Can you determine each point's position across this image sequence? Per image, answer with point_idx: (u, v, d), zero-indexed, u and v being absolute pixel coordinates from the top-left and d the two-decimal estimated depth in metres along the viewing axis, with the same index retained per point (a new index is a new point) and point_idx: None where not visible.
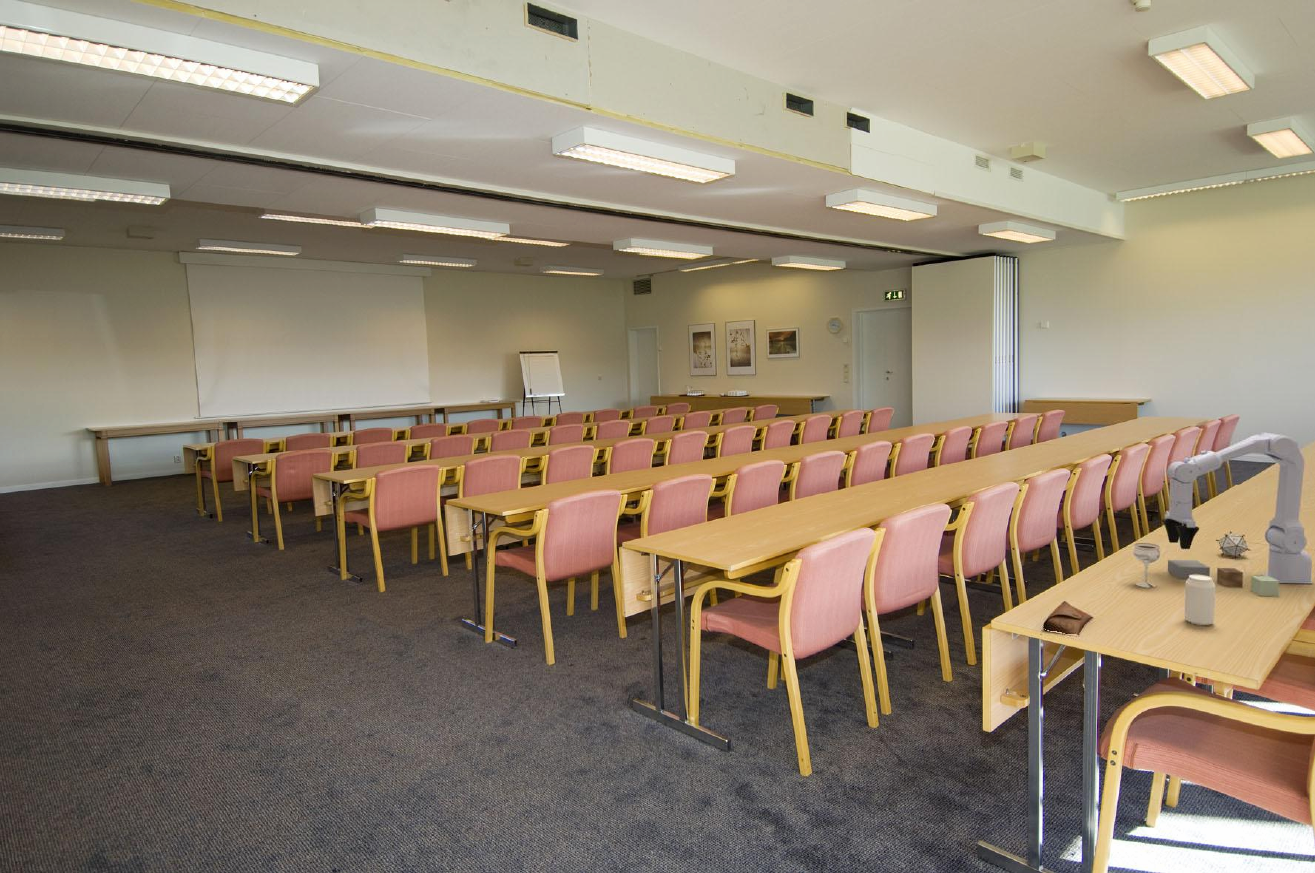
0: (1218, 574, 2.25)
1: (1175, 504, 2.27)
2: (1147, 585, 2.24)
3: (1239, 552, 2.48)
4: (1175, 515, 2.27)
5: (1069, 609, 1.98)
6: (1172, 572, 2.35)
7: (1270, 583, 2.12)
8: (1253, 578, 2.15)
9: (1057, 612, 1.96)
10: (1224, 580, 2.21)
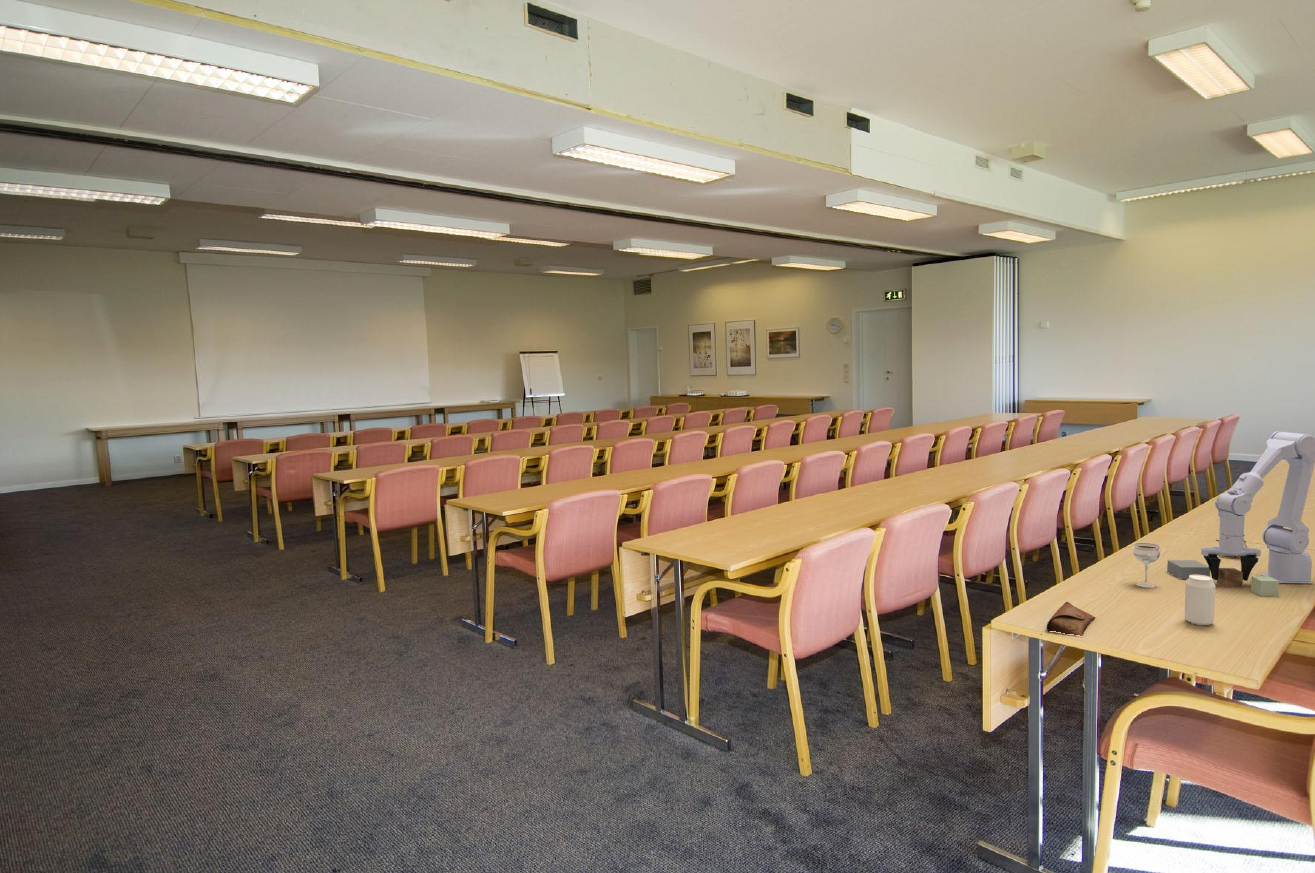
0: None
1: None
2: (1147, 585, 2.24)
3: None
4: None
5: (1072, 610, 1.98)
6: (1172, 573, 2.35)
7: (1270, 583, 2.12)
8: (1253, 578, 2.16)
9: (1060, 613, 1.96)
10: (1224, 580, 2.21)
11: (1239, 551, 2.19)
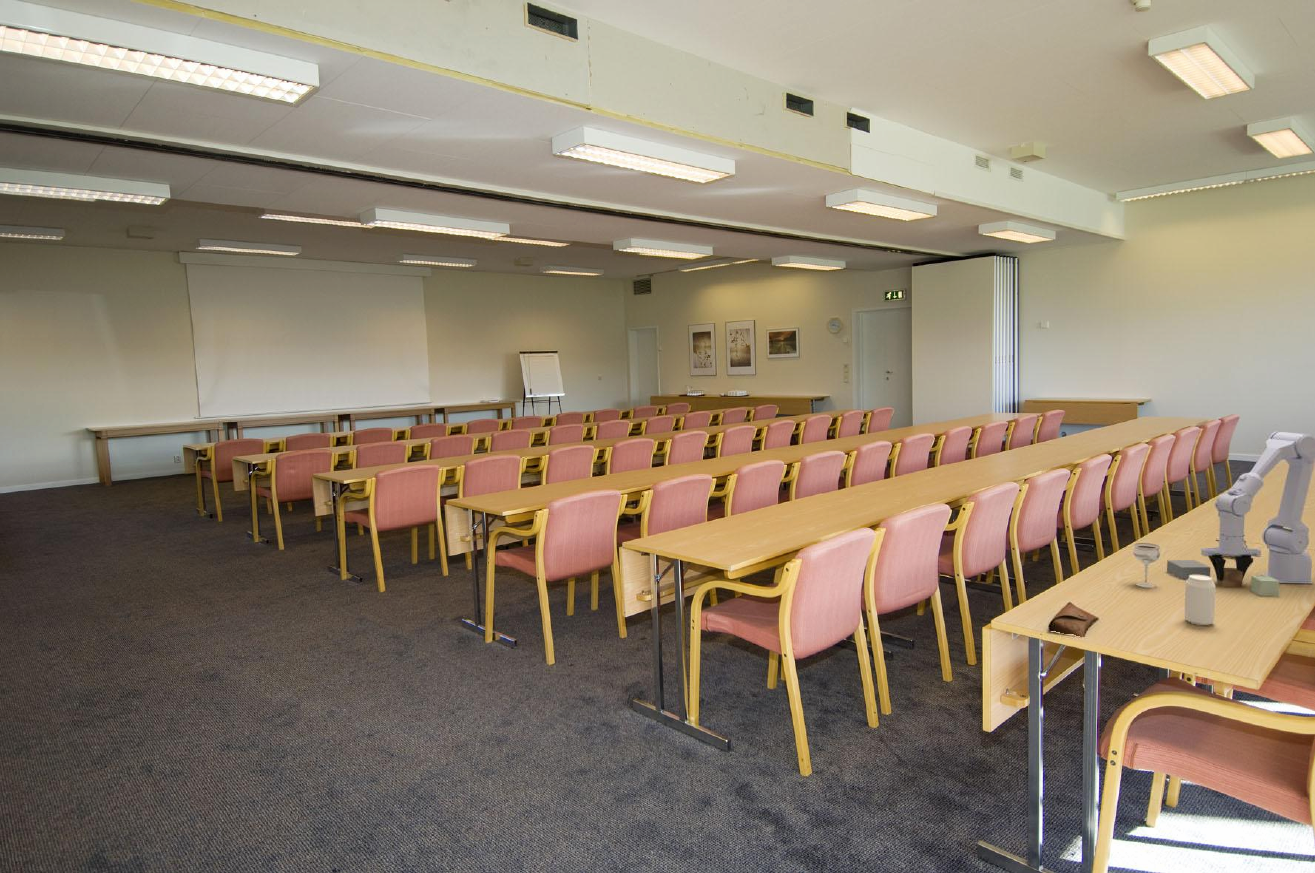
0: None
1: (1220, 534, 2.24)
2: (1147, 585, 2.24)
3: None
4: None
5: (1074, 610, 1.98)
6: (1172, 573, 2.35)
7: (1270, 583, 2.12)
8: (1253, 578, 2.15)
9: (1062, 613, 1.95)
10: (1224, 580, 2.21)
11: (1239, 552, 2.19)
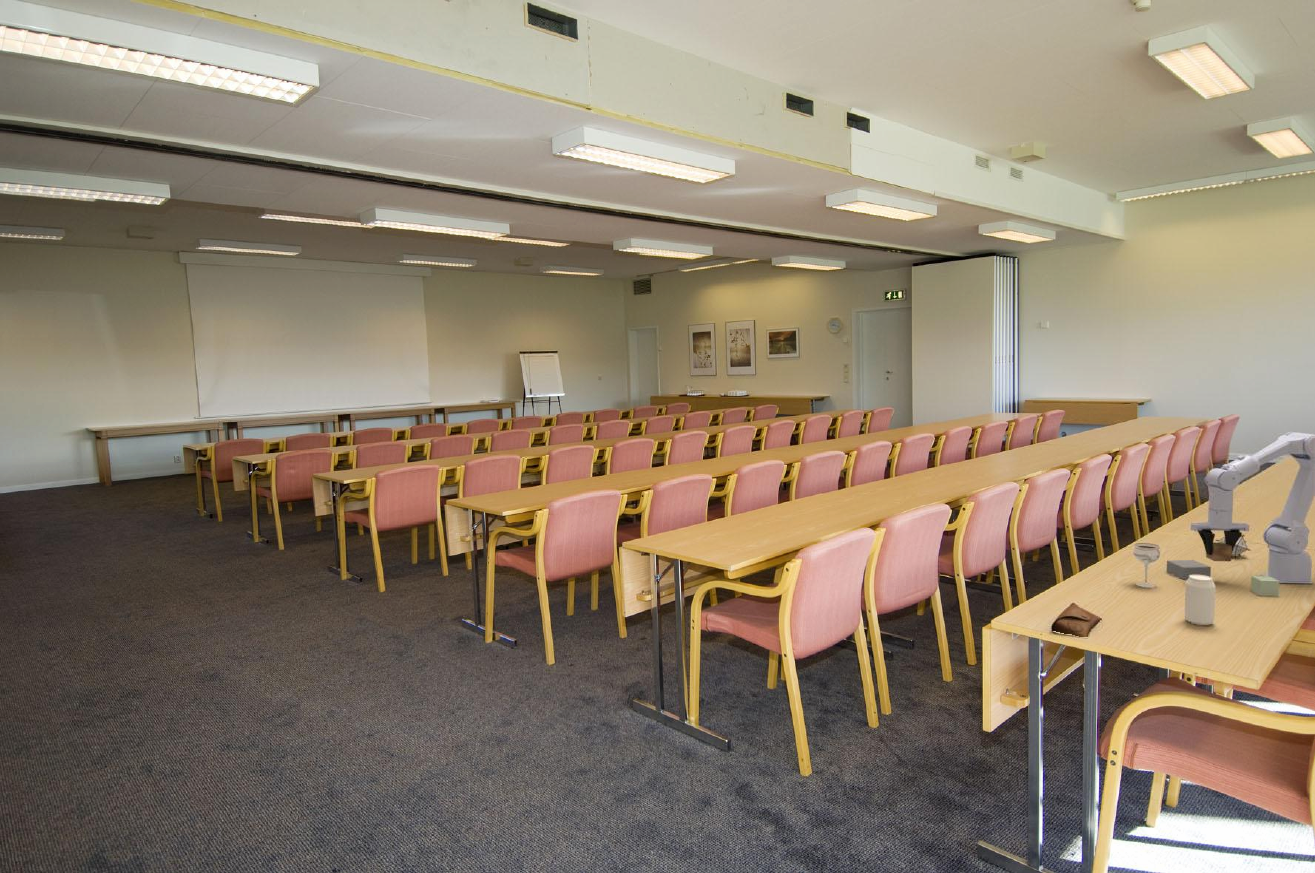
0: None
1: (1209, 509, 2.26)
2: (1147, 585, 2.24)
3: (1239, 552, 2.48)
4: None
5: (1077, 611, 1.97)
6: (1172, 573, 2.34)
7: (1270, 583, 2.12)
8: (1253, 578, 2.15)
9: (1065, 614, 1.95)
10: (1213, 554, 2.23)
11: (1228, 526, 2.21)
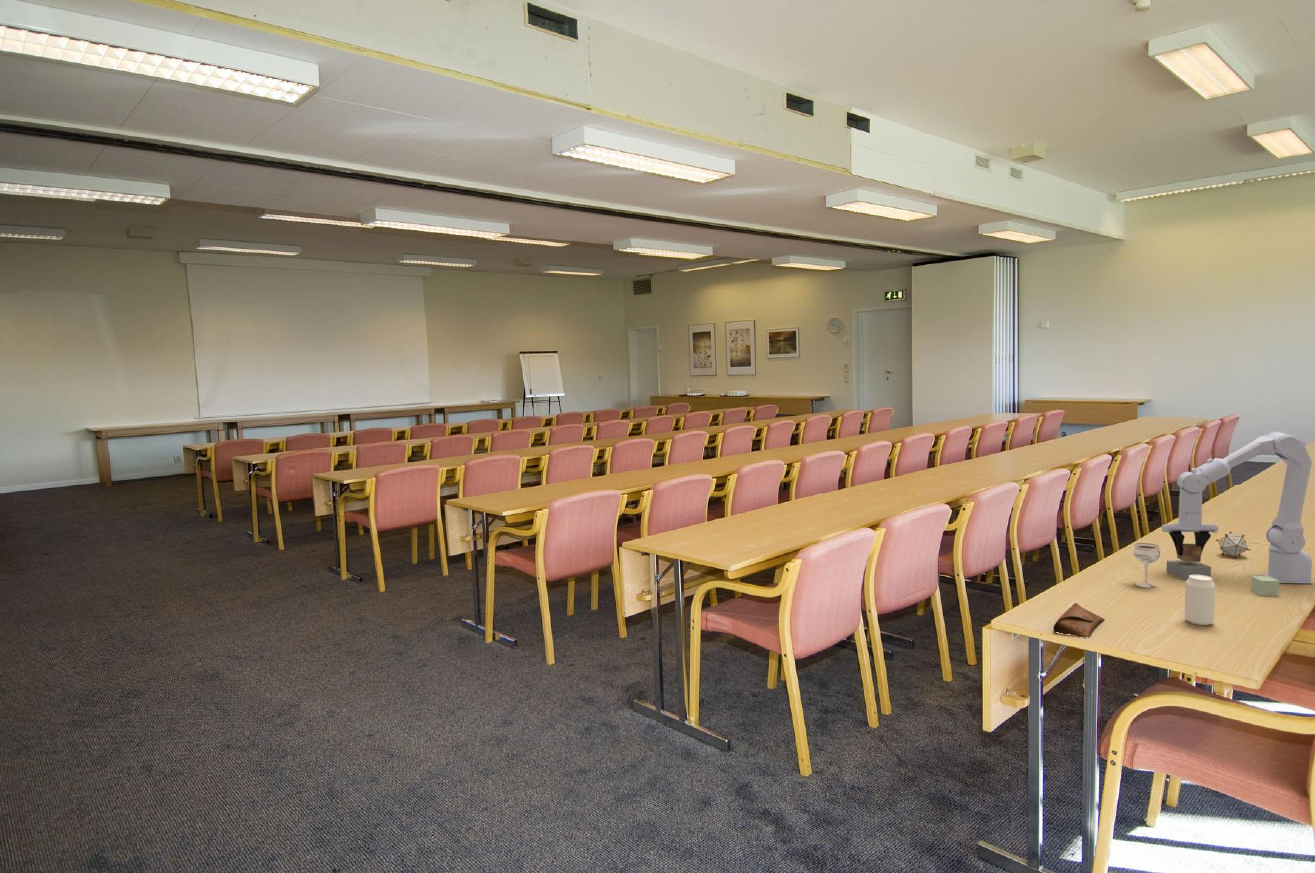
0: None
1: None
2: (1147, 585, 2.24)
3: (1239, 552, 2.48)
4: None
5: (1080, 611, 1.97)
6: (1172, 573, 2.34)
7: (1270, 583, 2.12)
8: (1253, 578, 2.16)
9: (1068, 614, 1.94)
10: (1183, 555, 2.31)
11: (1197, 527, 2.29)
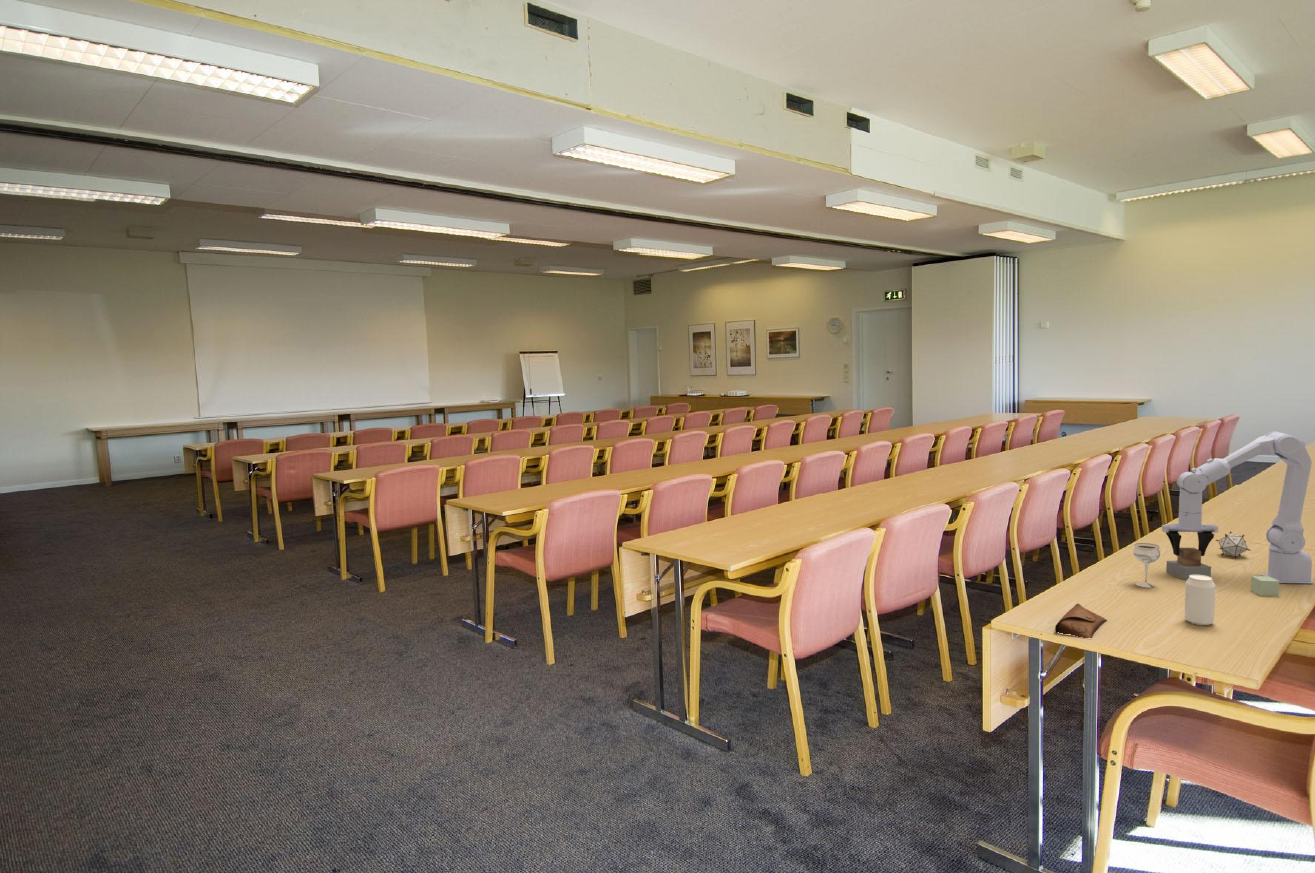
0: None
1: None
2: (1147, 585, 2.24)
3: (1239, 552, 2.48)
4: None
5: (1082, 612, 1.96)
6: (1173, 573, 2.34)
7: (1270, 583, 2.12)
8: (1253, 578, 2.15)
9: (1070, 614, 1.94)
10: (1183, 559, 2.31)
11: (1197, 527, 2.29)
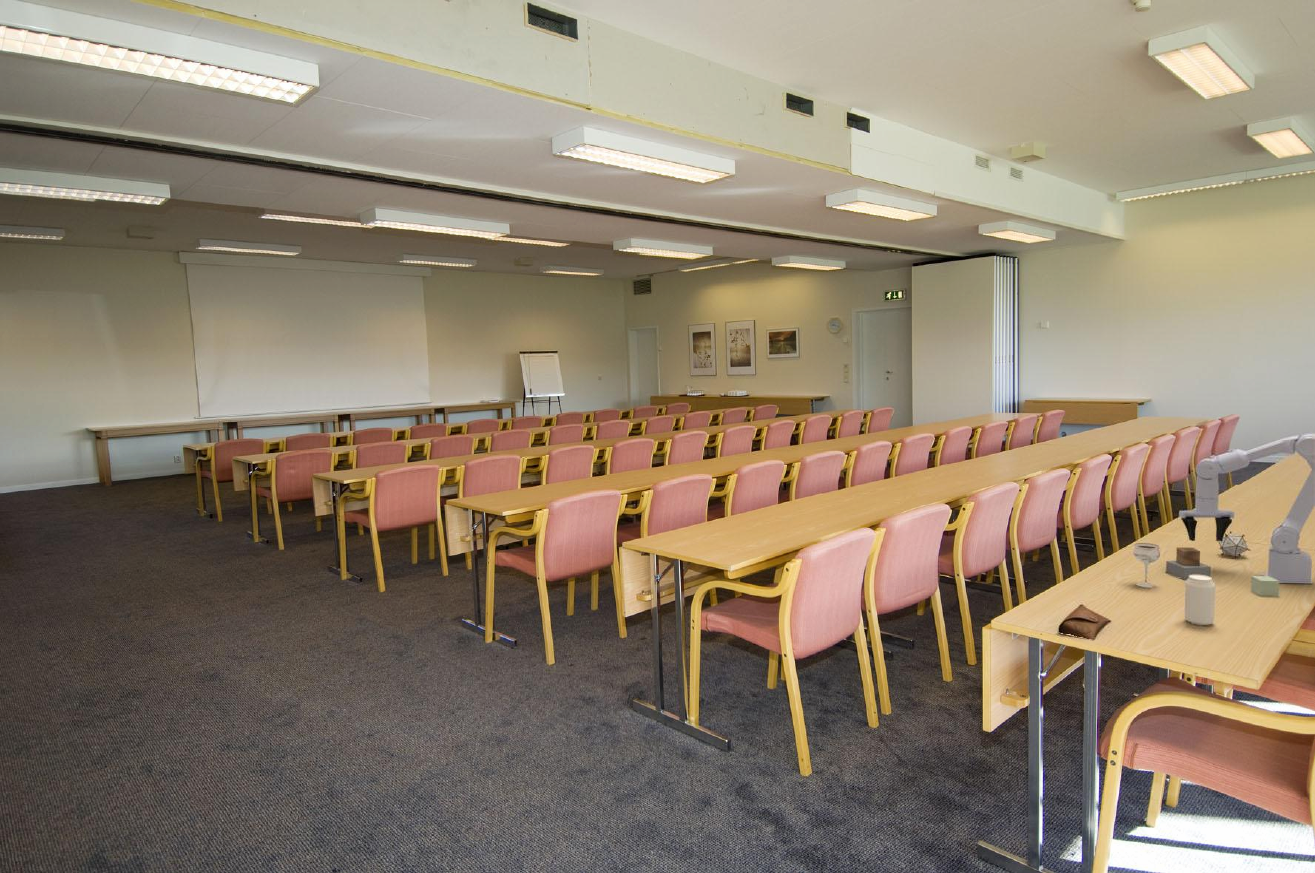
0: (1177, 553, 2.35)
1: None
2: (1147, 585, 2.24)
3: (1239, 552, 2.48)
4: None
5: (1085, 612, 1.96)
6: (1172, 573, 2.34)
7: (1270, 583, 2.12)
8: (1253, 578, 2.15)
9: (1073, 615, 1.93)
10: (1182, 559, 2.31)
11: (1214, 513, 2.33)
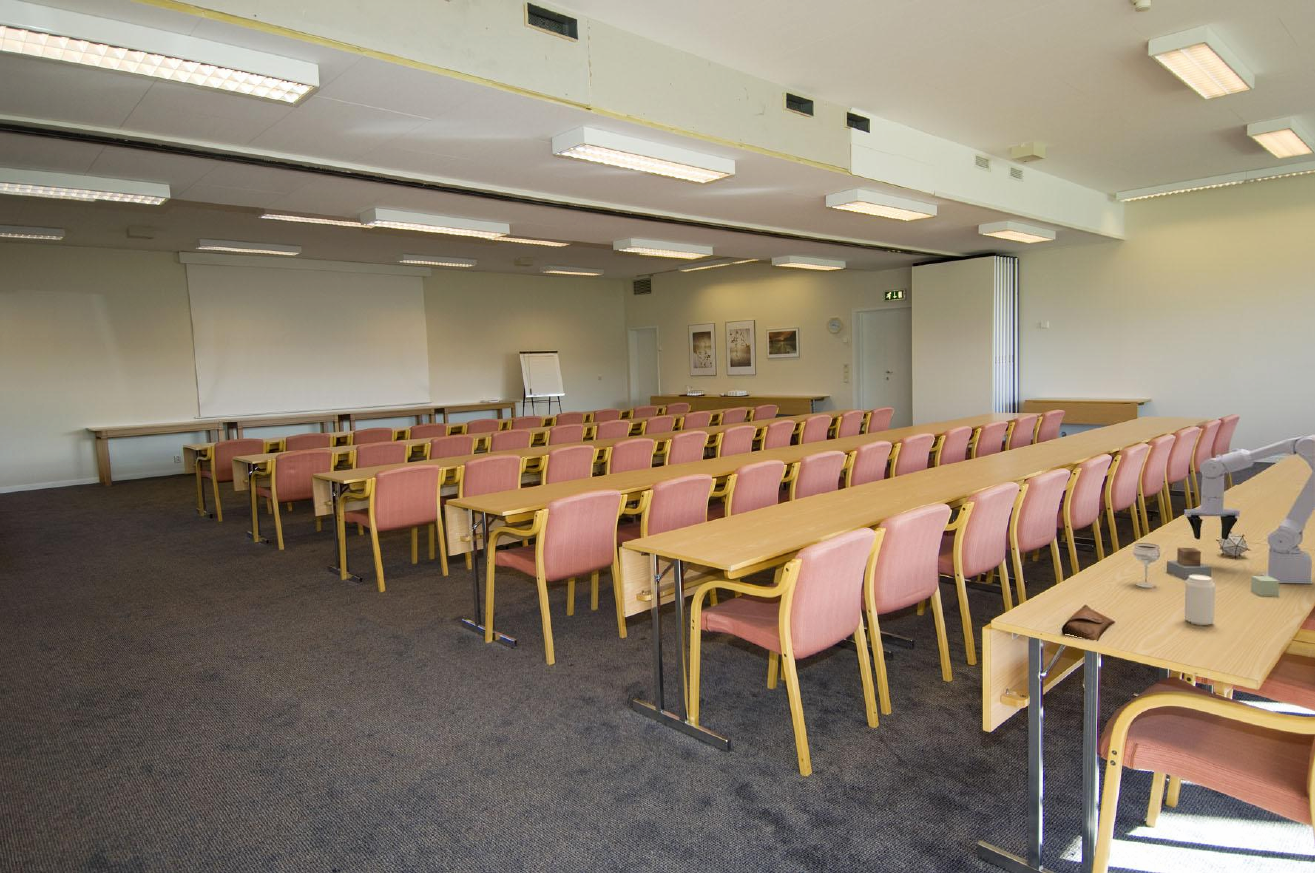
0: (1178, 553, 2.35)
1: None
2: (1147, 585, 2.24)
3: (1239, 552, 2.48)
4: None
5: (1089, 613, 1.95)
6: (1173, 573, 2.34)
7: (1270, 583, 2.12)
8: (1253, 578, 2.15)
9: (1077, 616, 1.93)
10: (1183, 559, 2.31)
11: (1219, 511, 2.35)
